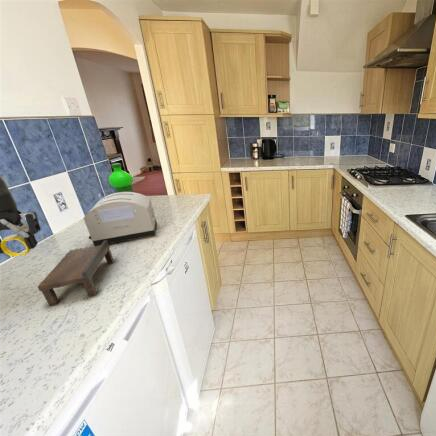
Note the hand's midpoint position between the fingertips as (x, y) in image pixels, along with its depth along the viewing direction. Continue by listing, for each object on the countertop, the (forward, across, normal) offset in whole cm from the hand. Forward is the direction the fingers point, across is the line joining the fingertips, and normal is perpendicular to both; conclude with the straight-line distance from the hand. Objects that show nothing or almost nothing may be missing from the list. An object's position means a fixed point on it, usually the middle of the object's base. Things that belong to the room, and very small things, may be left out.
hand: (17, 249), depth 69 cm
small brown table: (+13, -13, +2) cm, 18 cm away
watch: (+2, 0, 0) cm, 2 cm away
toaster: (+13, -18, -34) cm, 41 cm away
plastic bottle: (+13, -12, -66) cm, 68 cm away
